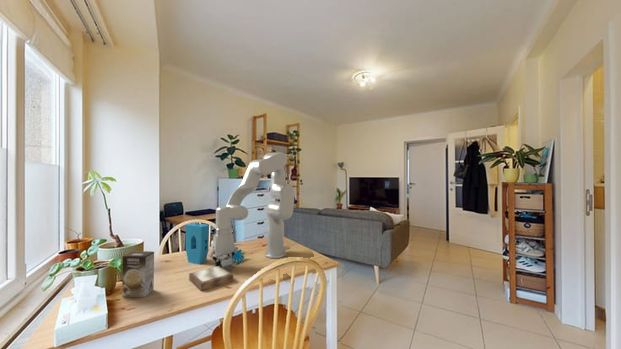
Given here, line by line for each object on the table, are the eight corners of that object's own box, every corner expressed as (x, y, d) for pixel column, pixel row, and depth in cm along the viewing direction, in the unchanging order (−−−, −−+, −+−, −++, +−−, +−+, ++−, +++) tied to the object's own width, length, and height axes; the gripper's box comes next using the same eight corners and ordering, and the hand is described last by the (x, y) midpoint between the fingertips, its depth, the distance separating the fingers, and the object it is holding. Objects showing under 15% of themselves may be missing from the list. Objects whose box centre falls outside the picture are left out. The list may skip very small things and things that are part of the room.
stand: (219, 271, 124) (219, 265, 124) (232, 281, 114) (233, 273, 114) (189, 280, 114) (189, 272, 114) (201, 291, 104) (201, 283, 104)
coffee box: (121, 297, 98) (121, 256, 98) (132, 289, 105) (132, 250, 105) (145, 297, 99) (145, 256, 98) (154, 289, 105) (154, 250, 105)
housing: (224, 265, 132) (224, 253, 132) (231, 270, 126) (231, 257, 126) (215, 268, 129) (215, 255, 128) (222, 272, 123) (222, 259, 123)
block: (184, 261, 137) (185, 224, 136) (192, 258, 141) (192, 222, 141) (202, 264, 132) (202, 226, 132) (209, 261, 137) (209, 224, 137)
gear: (231, 263, 131) (225, 246, 136) (226, 269, 133) (220, 252, 138) (249, 260, 140) (242, 244, 145) (243, 266, 142) (237, 250, 147)
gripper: (235, 227, 136) (235, 261, 136) (203, 232, 124) (203, 269, 124) (242, 230, 130) (242, 265, 131) (209, 235, 118) (209, 274, 119)
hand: (223, 267), depth 127 cm, fingers closed on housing, 5 cm apart
